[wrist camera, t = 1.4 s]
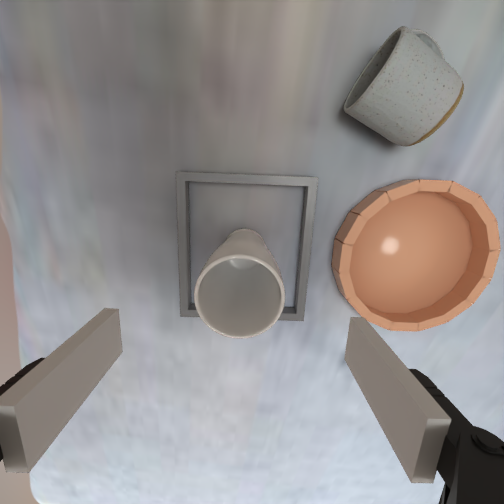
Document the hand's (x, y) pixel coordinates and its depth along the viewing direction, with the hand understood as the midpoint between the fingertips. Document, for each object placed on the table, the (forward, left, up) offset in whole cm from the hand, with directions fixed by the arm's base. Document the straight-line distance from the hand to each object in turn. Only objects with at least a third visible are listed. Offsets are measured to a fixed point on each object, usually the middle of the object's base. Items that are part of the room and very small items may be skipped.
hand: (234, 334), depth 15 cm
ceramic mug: (-19, +15, -19) cm, 31 cm away
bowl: (0, +21, -19) cm, 28 cm away
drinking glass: (0, 0, -19) cm, 19 cm away
